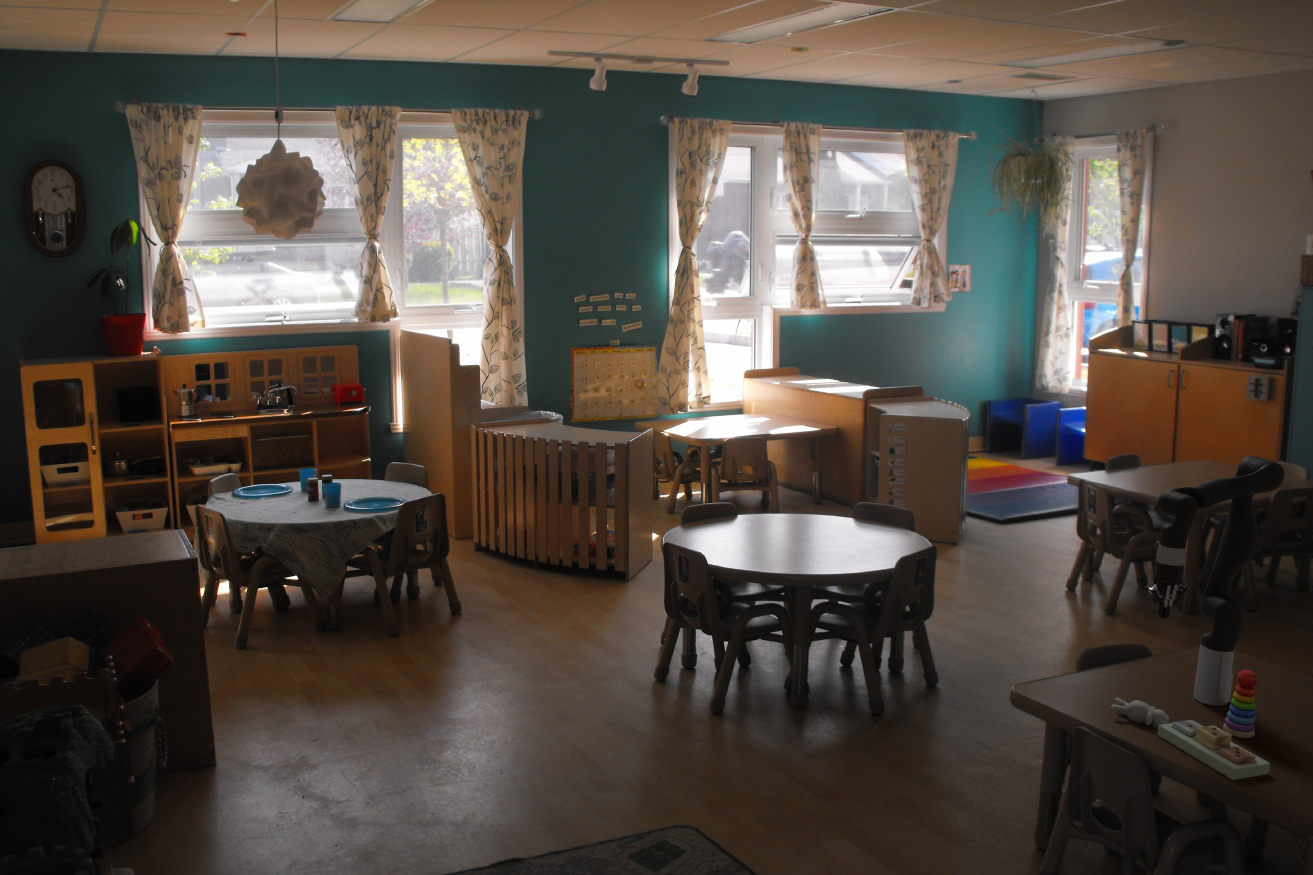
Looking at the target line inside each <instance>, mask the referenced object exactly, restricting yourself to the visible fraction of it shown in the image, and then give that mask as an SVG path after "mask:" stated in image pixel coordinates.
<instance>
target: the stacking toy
mask: <svg viewBox="0 0 1313 875" xmlns="http://www.w3.org/2000/svg"><path fill="white" fill-rule="evenodd" d="M1236 680H1237V683H1238V684H1236V686H1235V688H1234V689H1235V691H1234V692H1233V694H1232V698H1231V699H1230V703H1231V704H1230V705H1229V706H1228V708H1229V710H1228V712H1227V713H1226V715H1227V716H1226V717H1225V718H1224V723H1223V725H1222V730H1223V731H1225V732H1227V733H1229V734H1231V735H1232V737H1236V738H1241V739H1251V738H1254V737H1255V734H1256V732H1255V731H1256V730H1255V728H1256V727H1255V726H1256V725H1255V722H1256V716H1255V715H1256V710H1255V709H1256V703H1255V701H1256V697H1255V696H1254V695H1256V689H1255V687H1256V685H1257V684H1258V680H1259V679H1258V676H1257V674H1256V673H1255V672H1254V671H1252V670H1249V669H1242V670H1240V671H1239V672H1238V673H1237V676H1236Z"/></svg>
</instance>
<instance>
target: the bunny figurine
mask: <svg viewBox="0 0 1313 875" xmlns="http://www.w3.org/2000/svg"><path fill="white" fill-rule="evenodd" d="M1114 702H1115V704H1114V703H1113V704H1111V706H1110V709H1111V710H1112V711H1113V712H1120V713H1126V714H1127V716H1128V719H1129V720H1130V721H1133V722H1134V723H1139V724H1145V725H1146V726H1153V727H1155V728H1158V725H1162V724H1169V723H1170V722H1169V721H1170V716H1168V714H1167V713H1166V712H1165V711H1164V710H1162V709H1159V708H1156V707H1155V706H1152V705H1149V704H1148V703H1146V702H1144V701H1141V700H1138V699H1135V700H1133V701H1131V702H1127V701H1125V700H1124V699H1122V698H1121V697H1115V698H1114ZM1116 703H1117V704H1116ZM1118 704H1119V705H1118Z"/></svg>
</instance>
